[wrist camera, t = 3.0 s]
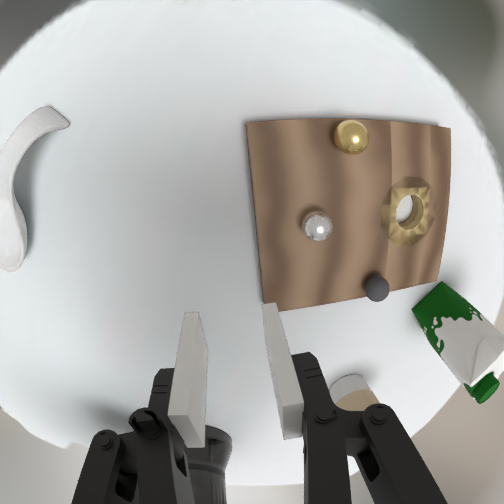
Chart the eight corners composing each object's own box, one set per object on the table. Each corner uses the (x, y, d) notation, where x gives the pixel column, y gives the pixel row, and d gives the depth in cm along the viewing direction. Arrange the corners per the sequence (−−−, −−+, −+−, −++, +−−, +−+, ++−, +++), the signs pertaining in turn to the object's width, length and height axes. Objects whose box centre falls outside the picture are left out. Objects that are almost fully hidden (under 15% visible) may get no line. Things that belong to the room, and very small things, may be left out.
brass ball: (329, 154, 27) (343, 157, 24) (327, 120, 26) (340, 118, 22) (360, 153, 27) (376, 156, 24) (358, 120, 26) (374, 120, 23)
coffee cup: (344, 365, 43) (376, 435, 29) (377, 374, 46) (409, 434, 32) (314, 397, 46) (334, 464, 32) (348, 403, 48) (371, 462, 35)
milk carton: (405, 309, 40) (474, 396, 21) (444, 273, 38) (524, 345, 20) (420, 335, 43) (477, 412, 24) (454, 302, 41) (520, 370, 23)
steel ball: (299, 237, 31) (306, 248, 28) (297, 208, 29) (305, 217, 26) (326, 233, 31) (337, 244, 28) (326, 206, 29) (337, 214, 26)
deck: (263, 302, 36) (265, 313, 34) (245, 123, 28) (247, 122, 25) (427, 273, 37) (436, 280, 35) (438, 127, 29) (450, 128, 26)
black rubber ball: (359, 295, 34) (369, 308, 32) (362, 273, 33) (373, 286, 30) (380, 291, 35) (391, 303, 32) (383, 269, 33) (395, 281, 30)
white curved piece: (27, 276, 32) (2, 300, 26) (-17, 232, 29) (-44, 249, 22) (90, 135, 26) (58, 138, 20) (35, 93, 23) (1, 90, 16)
